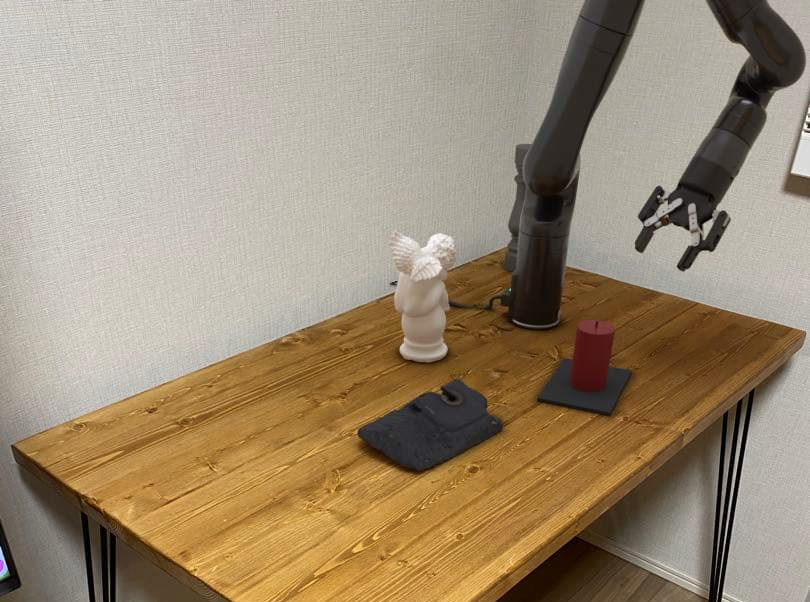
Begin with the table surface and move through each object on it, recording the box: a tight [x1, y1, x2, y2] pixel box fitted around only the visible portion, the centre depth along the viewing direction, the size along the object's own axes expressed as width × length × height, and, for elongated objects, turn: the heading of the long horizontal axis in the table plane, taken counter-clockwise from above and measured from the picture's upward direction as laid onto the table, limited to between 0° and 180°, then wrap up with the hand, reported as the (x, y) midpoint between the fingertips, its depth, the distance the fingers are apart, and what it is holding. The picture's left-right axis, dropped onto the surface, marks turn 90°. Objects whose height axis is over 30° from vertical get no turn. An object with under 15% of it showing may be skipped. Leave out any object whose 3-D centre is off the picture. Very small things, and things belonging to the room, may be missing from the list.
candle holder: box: [504, 143, 532, 273], centre depth 188 cm, size 6×6×25 cm
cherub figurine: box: [388, 230, 458, 363], centre depth 150 cm, size 12×12×22 cm
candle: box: [570, 319, 616, 392], centre depth 145 cm, size 6×6×11 cm
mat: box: [536, 357, 633, 416], centre depth 148 cm, size 12×17×1 cm
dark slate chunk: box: [357, 378, 504, 472], centre depth 133 cm, size 15×22×5 cm
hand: (658, 260), depth 145 cm, fingers open, 8 cm apart
